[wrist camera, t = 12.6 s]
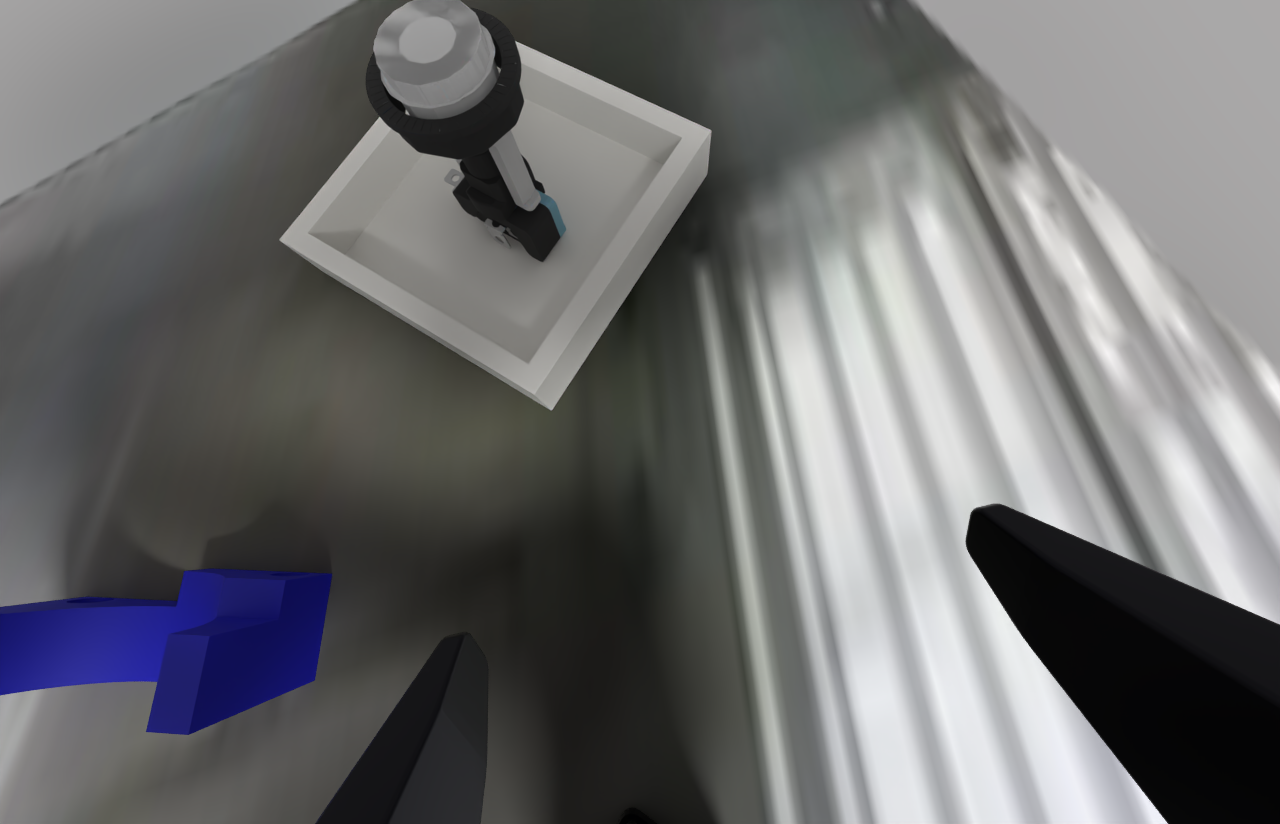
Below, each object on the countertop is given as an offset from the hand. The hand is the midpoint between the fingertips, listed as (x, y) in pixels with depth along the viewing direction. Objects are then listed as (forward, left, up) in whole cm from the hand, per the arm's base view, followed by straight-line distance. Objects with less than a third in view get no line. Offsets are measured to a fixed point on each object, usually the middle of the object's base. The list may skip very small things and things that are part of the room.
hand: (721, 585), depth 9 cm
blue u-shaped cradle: (-15, +18, -14) cm, 27 cm away
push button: (+9, +16, -13) cm, 23 cm away
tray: (+10, +17, -14) cm, 23 cm away
